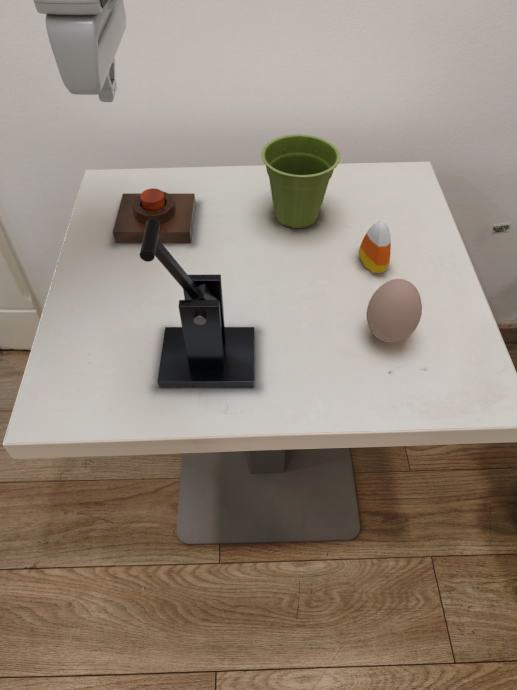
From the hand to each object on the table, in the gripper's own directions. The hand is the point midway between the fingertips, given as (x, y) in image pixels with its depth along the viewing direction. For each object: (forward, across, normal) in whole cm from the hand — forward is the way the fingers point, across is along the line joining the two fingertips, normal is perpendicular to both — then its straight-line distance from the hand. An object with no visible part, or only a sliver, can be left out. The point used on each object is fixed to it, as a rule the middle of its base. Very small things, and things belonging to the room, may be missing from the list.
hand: (108, 96), depth 66 cm
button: (+18, -3, +3) cm, 19 cm away
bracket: (+22, +26, +13) cm, 36 cm away
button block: (+22, -3, +3) cm, 22 cm away
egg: (+22, +22, +37) cm, 48 cm away
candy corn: (+22, +8, +37) cm, 43 cm away
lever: (+7, +26, +10) cm, 28 cm away
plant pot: (+22, -4, +26) cm, 34 cm away
